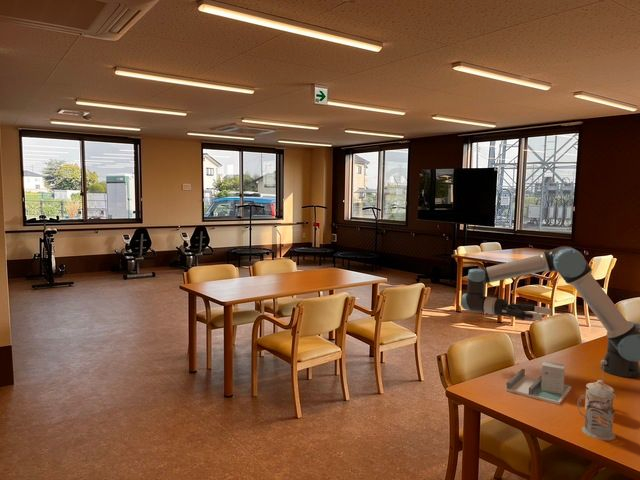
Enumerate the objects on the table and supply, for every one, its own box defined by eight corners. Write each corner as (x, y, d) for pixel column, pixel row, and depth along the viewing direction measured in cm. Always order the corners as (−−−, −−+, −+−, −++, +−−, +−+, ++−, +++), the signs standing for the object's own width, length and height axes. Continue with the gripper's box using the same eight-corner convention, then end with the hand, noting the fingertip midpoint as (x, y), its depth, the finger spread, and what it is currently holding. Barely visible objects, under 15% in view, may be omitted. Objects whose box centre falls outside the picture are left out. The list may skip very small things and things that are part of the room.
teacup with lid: (608, 419, 170) (610, 387, 169) (580, 411, 177) (582, 380, 176) (618, 409, 179) (620, 379, 177) (591, 401, 185) (593, 372, 184)
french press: (619, 442, 155) (625, 366, 152) (579, 436, 158) (584, 362, 156) (610, 428, 164) (616, 356, 162) (573, 423, 167) (578, 352, 165)
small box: (563, 389, 193) (565, 364, 192) (563, 394, 188) (564, 368, 187) (541, 385, 197) (542, 360, 196) (540, 390, 192) (542, 364, 191)
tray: (571, 388, 197) (571, 380, 197) (559, 404, 182) (559, 395, 181) (521, 376, 209) (522, 368, 209) (506, 390, 194) (506, 382, 194)
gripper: (504, 309, 228) (553, 317, 215) (485, 319, 209) (537, 329, 196) (505, 294, 228) (554, 301, 214) (486, 302, 208) (538, 311, 195)
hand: (546, 314), depth 205 cm, fingers open, 13 cm apart
